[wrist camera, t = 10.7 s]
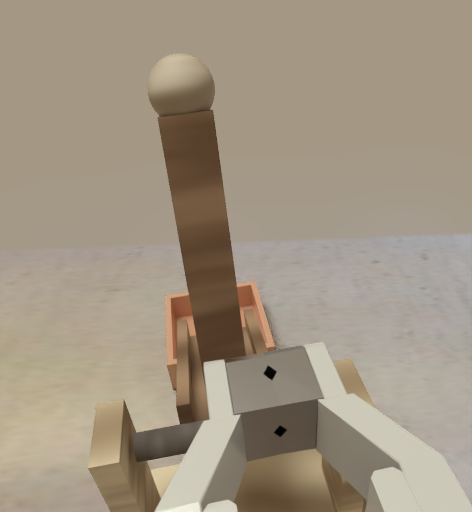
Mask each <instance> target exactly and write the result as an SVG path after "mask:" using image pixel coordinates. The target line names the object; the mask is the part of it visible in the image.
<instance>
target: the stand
mask: <svg viewBox="0 0 472 512" xmlns="http://www.w3.org/2000/svg"><path fill="white" fill-rule="evenodd" d="M333 363H334V365H335V367H336V370H337V372H338V374H339V376H340V378H341V381H342V383H343V385H344V387H345V390H346V392H347V394H353V393H354V394H355V395H357V396H358V397H360V398H361V399H362V400H364V401H365V402H367V403H368V404H370V405H371V406H372V407H374V405H373V403H372V401H371V399H370V396H369V394H368V392H367V390H366V388H365V386H364V384H363V382H362V380H361V378H360V376H359V374H358V372H357V370H356V368H355V366H354V364H353V361H352V359H351V358H350V359H344V360H339V361H333ZM374 408H375V407H374ZM135 433H136V430H135V428H134V425H133V422H132V420H131V417H130V414H129V412H128V409H127V406H126V404H125V401H124V399H121V400H116V401H110V402H105V403H99V404H97V406H96V413H95V421H94V428H93V436H92V443H91V451H90V458H89V466H88V469H89V471H90V473H91V475H92V476H93V478H94V480H95V482H96V484H97V486H98V488H99V490H100V492H101V494H102V496H103V498H104V500H105V501H106V503H107V505H108V507H109V509H110V511H111V512H155V510H156V508H157V506H158V504H159V502H160V501H161V499H162V497H163V495H164V493H165V491H166V489H167V488H168V486H169V484H170V482H171V480H172V478H173V477H174V475H175V473H176V471H177V469H178V467H179V465H180V464H178V465H173V466H168V467H162V468H157V469H152V470H150V468H149V465H148V463H147V461H142V462H137V461H136V458H135V454H134V434H135ZM234 503H235V504H236V505H237V511H238V512H365V509H366V502H365V500H364V497H363V496H362V495H361V494H360V493H359V492H358V491H357V490H356V489H355V488H354V487H353V486H352V485H351V484H350V483H349V482H348V481H347V480H346V479H345V478H344V477H343V476H342V475H341V474H340V473H339V472H338V471H337V470H336V469H335V468H334V467H333V466H332V465H331V464H330V463H329V462H328V461H327V460H326V459H325V458H324V457H323V456H322V455H321V454H320V453H319V452H318V451H317V450H316V449H309V450H303V451H297V452H291V453H285V454H279V455H275V456H270V457H266V458H261V459H257V460H252V461H248V462H247V466H246V469H245V472H244V475H243V477H242V480H241V483H240V486H239V489H238V491H237V494H236V497H235V500H234Z"/></svg>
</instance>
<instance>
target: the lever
mask: <svg viewBox="0 0 472 512" xmlns="http://www.w3.org/2000/svg"><path fill="white" fill-rule="evenodd" d="M147 89H148V96H149V100H150V102H151V105H152V107H153V108H154V110H155V111H156V112H157V113H158V114H159V116H160V117H158V123H159V128H160V134H161V139H162V145H163V150H164V157H165V162H166V168H167V173H168V179H169V185H170V191H171V196H172V202H173V207H174V213H175V218H176V225H177V230H178V235H179V242H180V247H181V253H182V259H183V264H184V270H185V276H186V281H187V287H188V292H189V298H190V304H191V309H192V315H193V321H194V326H195V332H196V335H194V336H190V334H189V329H188V323H187V320H181V321H177V392H176V407H177V412H178V416H179V421H180V425H176V426H170V427H165V428H159V429H154V430H149V431H143V432H138V433H135V434H134V454H135V458H136V461H137V462H142V461H147V460H153V459H158V458H163V457H168V456H174V455H179V454H184V453H186V452H187V451H188V449H189V447H190V445H191V443H192V441H193V440H194V438H195V436H196V434H197V432H198V430H199V428H200V427H201V425H202V423H203V421H206V420H210V419H209V410H208V401H207V393H206V384H205V376H204V362H208V361H215V360H222V359H224V362H225V359H226V358H233V357H240V356H246V355H253V354H260V353H263V352H268V350H267V347H266V344H265V341H264V338H263V336H262V333H261V330H260V327H259V325H258V322H257V319H256V316H255V313H254V311H253V309H247V310H243V311H244V318H245V326H246V327H242V322H241V314H240V307H239V299H238V292H237V285H236V277H235V270H234V262H233V255H232V248H231V240H230V233H229V226H228V218H227V211H226V203H225V196H224V189H223V181H222V174H221V166H220V160H219V151H218V144H217V137H216V129H215V122H214V115H213V110H210V108H211V106H212V104H213V100H214V95H215V86H214V81H213V78H212V75H211V73H210V71H209V70H208V68H207V67H206V66H205V65H204V64H203V63H202V62H201V61H200V60H199V59H197V58H195V57H194V56H191V55H188V54H183V53H177V54H171V55H168V56H166V57H164V58H163V59H161V60H160V61H159V62H158V63H157V64H156V65H155V66H154V67H153V69H152V71H151V73H150V75H149V79H148V87H147Z"/></svg>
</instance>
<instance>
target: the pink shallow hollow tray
mask: <svg viewBox="0 0 472 512" xmlns="http://www.w3.org/2000/svg"><path fill="white" fill-rule="evenodd" d="M236 285H237V292H238V299H239V307H240V314H241V322H242V327H246V326H245V318H244V311H243V310H247V309H253V311H254V313H255V316H256V319H257V322H258V325H259V327H260V330H261V333H262V336H263V338H264V341H265V344H266V347H267V350H268V352H269V351H274V350H275V344H274V341H273V338H272V334H271V331H270V328H269V324H268V321H267V318H266V315H265V311H264V308H263V305H262V302H261V298H260V295H259V292H258V288H257V285H256V282H255V281H251V282H245V283H239V284H236ZM165 309H166V348H167V367H168V371H169V375H170V379H171V383H172V386H173V390H174V389H177V321H181V320H187V323H188V329H189V334H190V336H194V335H196V332H195V326H194V321H193V315H192V309H191V304H190V298H189V292H184V293H178V294H172V295H165Z"/></svg>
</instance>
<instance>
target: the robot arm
mask: <svg viewBox="0 0 472 512" xmlns="http://www.w3.org/2000/svg"><path fill="white" fill-rule="evenodd" d="M204 376H205V384H206V393H207V401H208V410H209V419H210V420H206V421H203V423H202V425H201V427H200V428H199V430H198V432H197V434H196V436H195V438H194V440H193V441H192V443H191V445H190V447H189V449H188V451H187V452H186V454H185V456H184V458H183V460H182V462H181V464H180V465H179V467H178V469H177V471H176V473H175V475H174V477H173V478H172V480H171V482H170V484H169V486H168V488H167V489H166V491H165V493H164V495H163V497H162V499H161V501H160V502H159V504H158V506H157V508H156V510H155V512H238V511H237V505H236V504H235V503H234V500H235V497H236V494H237V491H238V489H239V486H240V483H241V480H242V477H243V475H244V472H245V469H246V466H247V462H248V461H252V460H257V459H261V458H266V457H270V456H275V455H279V454H285V453H291V452H297V451H303V450H309V449H316V450H317V451H318V452H319V453H320V454H321V455H322V456H323V457H324V458H325V459H326V460H327V461H328V462H329V463H330V464H331V465H332V466H333V467H334V468H335V469H336V470H337V471H338V472H339V473H340V474H341V475H342V476H343V477H344V478H345V479H346V480H347V481H348V482H349V483H350V484H351V485H352V486H353V487H354V488H355V489H356V490H357V491H358V492H359V493H360V494H361V495H362V496H363V497H364V498H365V499H366V500H367V503H366V509H365V512H472V505H471V503H470V501H469V500H468V498H467V496H466V495H465V493H464V491H463V489H462V488H461V486H460V484H459V483H458V481H457V479H456V477H455V476H454V474H453V472H452V470H451V469H450V467H449V465H448V464H447V462H446V460H445V458H444V457H443V455H441V454H440V453H438V452H437V451H435V450H434V449H433V448H431V447H430V446H428V445H427V444H425V443H424V442H423V441H421V440H420V439H418V438H417V437H415V436H414V435H413V434H411V433H410V432H408V431H407V430H405V429H404V428H403V427H401V426H400V425H398V424H397V423H395V422H394V421H393V420H391V419H390V418H388V417H387V416H385V415H384V414H382V413H381V412H380V411H378V410H377V409H375V408H374V407H372V406H371V405H370V404H368V403H367V402H365V401H364V400H362V399H361V398H360V397H358V396H357V395H355V394H354V393H353V394H347V392H346V390H345V387H344V385H343V383H342V381H341V378H340V376H339V374H338V372H337V370H336V367H335V365H334V363H333V361H332V358H331V356H330V354H329V352H328V349H327V347H326V345H325V344H324V343H323V342H319V343H313V344H308V345H303V346H296V347H290V348H285V349H279V350H274V351H269V352H263V353H260V354H253V355H246V356H240V357H233V358H226V359H225V362H224V359H222V360H215V361H208V362H204Z"/></svg>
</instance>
